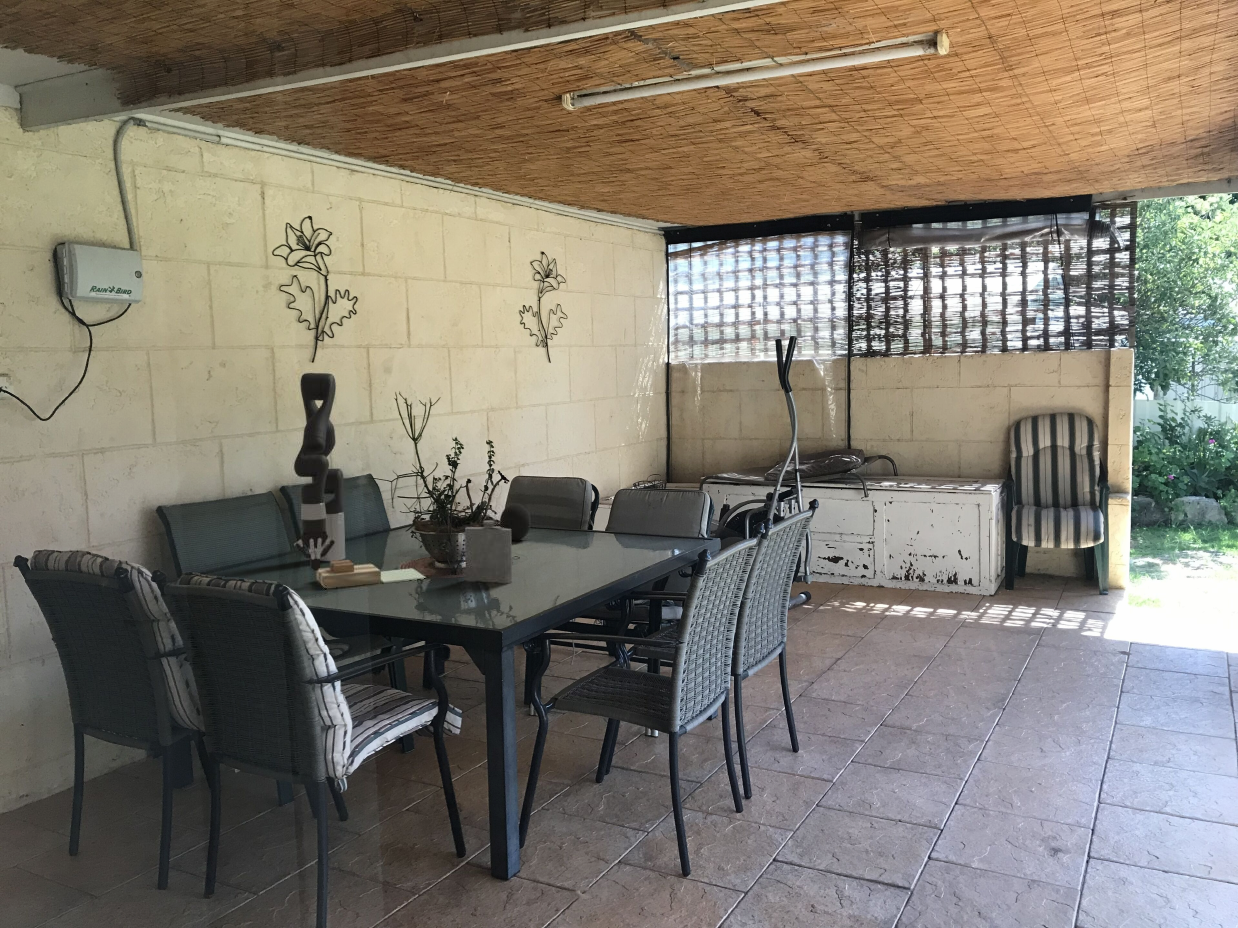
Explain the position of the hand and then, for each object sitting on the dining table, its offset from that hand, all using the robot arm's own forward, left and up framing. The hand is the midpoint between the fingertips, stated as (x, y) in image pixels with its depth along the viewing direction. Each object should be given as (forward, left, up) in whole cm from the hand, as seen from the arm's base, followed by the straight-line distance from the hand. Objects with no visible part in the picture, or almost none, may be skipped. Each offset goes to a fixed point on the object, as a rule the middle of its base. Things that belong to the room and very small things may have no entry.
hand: (315, 569), depth 318 cm
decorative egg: (-44, +86, -5) cm, 97 cm away
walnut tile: (0, +8, 0) cm, 8 cm away
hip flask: (+21, +51, -5) cm, 56 cm away
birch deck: (0, +10, -5) cm, 12 cm away
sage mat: (0, +27, -5) cm, 27 cm away
